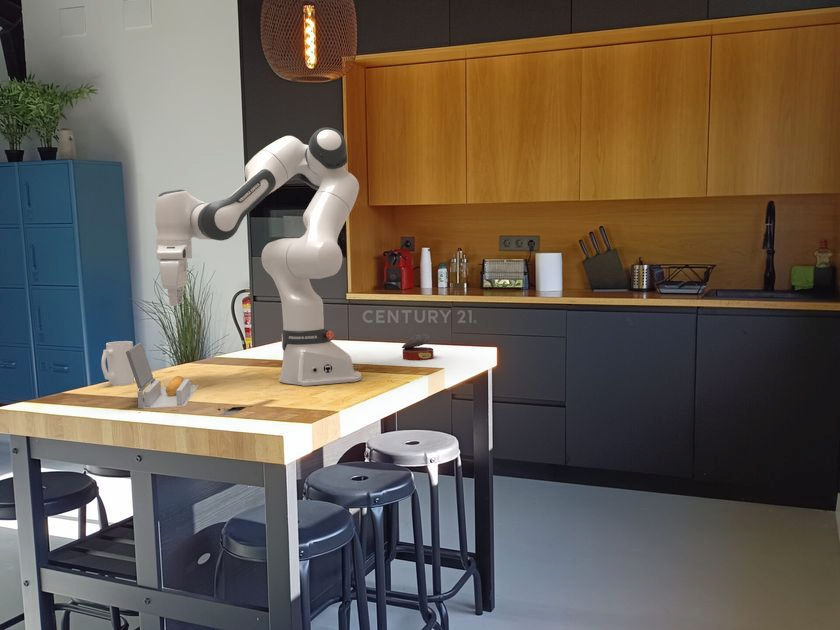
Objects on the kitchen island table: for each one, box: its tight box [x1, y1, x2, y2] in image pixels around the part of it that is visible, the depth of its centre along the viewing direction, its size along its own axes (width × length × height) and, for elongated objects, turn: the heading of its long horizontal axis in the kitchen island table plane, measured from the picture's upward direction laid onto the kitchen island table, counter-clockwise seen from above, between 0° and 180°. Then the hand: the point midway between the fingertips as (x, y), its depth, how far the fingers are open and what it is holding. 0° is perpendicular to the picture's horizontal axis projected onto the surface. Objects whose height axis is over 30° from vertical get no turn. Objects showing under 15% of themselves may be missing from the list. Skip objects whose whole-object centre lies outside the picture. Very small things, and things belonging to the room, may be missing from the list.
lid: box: [126, 342, 155, 392], centre depth 190 cm, size 10×15×1 cm
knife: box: [219, 405, 253, 416], centre depth 185 cm, size 22×1×5 cm
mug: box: [100, 340, 135, 387], centre depth 213 cm, size 10×7×12 cm, turn 157°
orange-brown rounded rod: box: [166, 375, 185, 396], centre depth 202 cm, size 3×12×3 cm, turn 9°
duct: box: [136, 377, 199, 414], centre depth 196 cm, size 10×26×5 cm, turn 9°
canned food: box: [401, 333, 434, 362], centre depth 254 cm, size 11×10×10 cm
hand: (176, 304), depth 210 cm, fingers open, 8 cm apart
